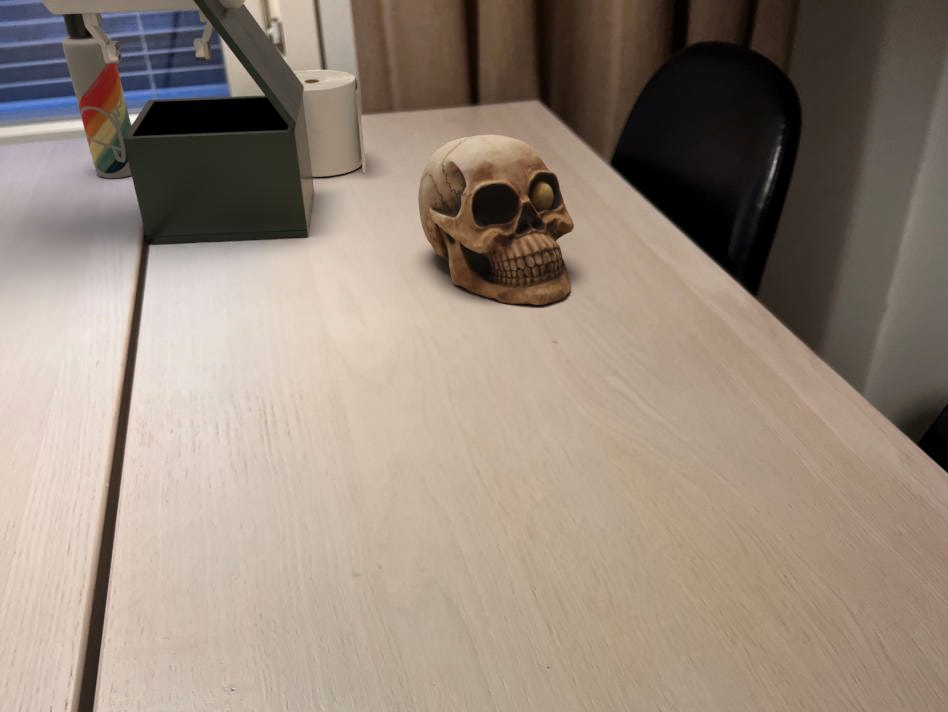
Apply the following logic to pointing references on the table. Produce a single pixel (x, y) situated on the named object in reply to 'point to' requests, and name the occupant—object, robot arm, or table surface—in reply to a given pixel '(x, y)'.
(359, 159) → the toilet tissue
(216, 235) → the trash bin
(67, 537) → the table surface
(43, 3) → the robot arm
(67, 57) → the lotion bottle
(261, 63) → the bin lid
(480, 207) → the tan skull model
